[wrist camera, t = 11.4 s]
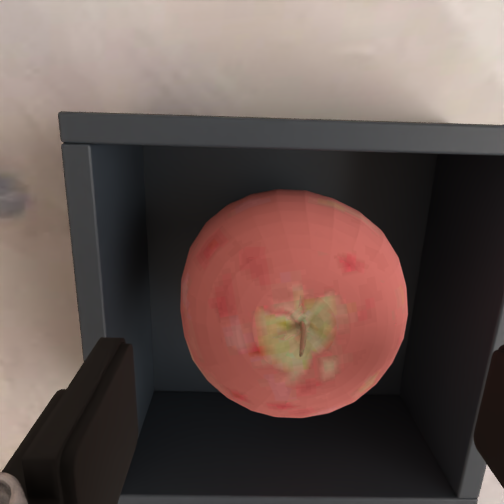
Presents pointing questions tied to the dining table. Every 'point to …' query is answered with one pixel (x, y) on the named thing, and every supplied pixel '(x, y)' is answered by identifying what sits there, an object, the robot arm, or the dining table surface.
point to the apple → (292, 303)
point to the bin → (327, 184)
